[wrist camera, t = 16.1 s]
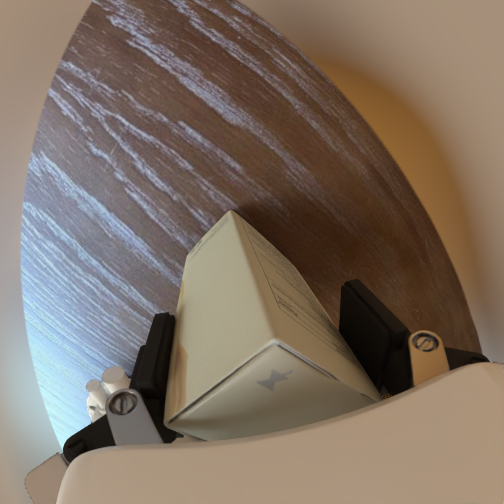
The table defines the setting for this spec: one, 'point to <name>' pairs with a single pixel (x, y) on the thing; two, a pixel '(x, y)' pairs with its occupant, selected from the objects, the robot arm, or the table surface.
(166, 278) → the table surface
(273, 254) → the cosmetic box
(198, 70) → the table surface
